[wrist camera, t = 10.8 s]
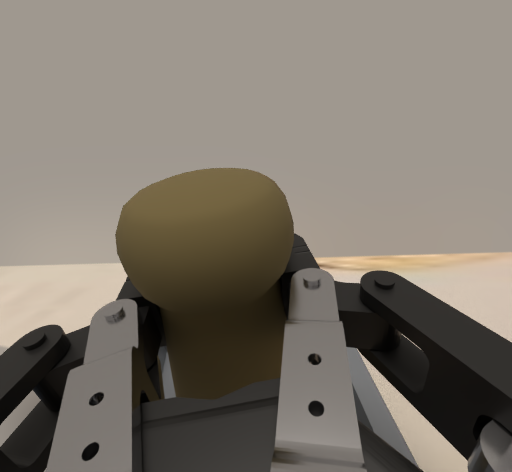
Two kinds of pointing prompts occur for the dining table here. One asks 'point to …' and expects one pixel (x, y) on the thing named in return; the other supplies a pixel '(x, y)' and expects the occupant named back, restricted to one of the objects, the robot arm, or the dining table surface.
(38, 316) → the dining table surface
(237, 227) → the cork
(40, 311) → the dining table surface
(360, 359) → the tray
